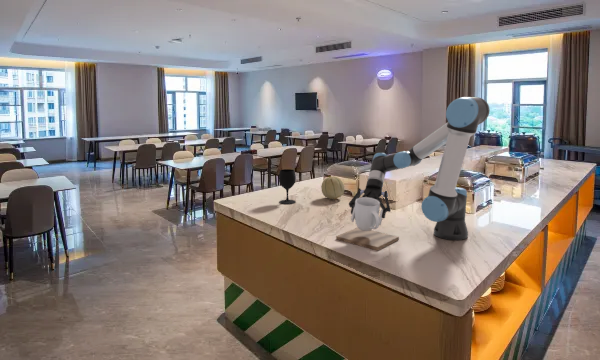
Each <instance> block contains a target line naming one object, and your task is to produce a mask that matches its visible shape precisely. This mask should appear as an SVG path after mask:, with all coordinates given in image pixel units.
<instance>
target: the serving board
mask: <svg viewBox="0 0 600 360" xmlns="http://www.w3.org/2000/svg"><path fill="white" fill-rule="evenodd" d="M399 237H400V236H398V235H393V234H388V233H385V232H380V231H376V230H374V229H372V230H370V231H363V230H360V229H359V228H358V227H355V228H353V229H350V230H348V231H345V232H343V233H341V234H338V235H336V236H335V240H338V241H340V242H345V243H349V244H351V245H355V246H359V247H363V248H367V249H370V250H373V251H380V250H381V249H383V248H385V247H387V246H390V245H392V244H393V243H396V242H398V241H399V240H400V238H399Z"/></svg>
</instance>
